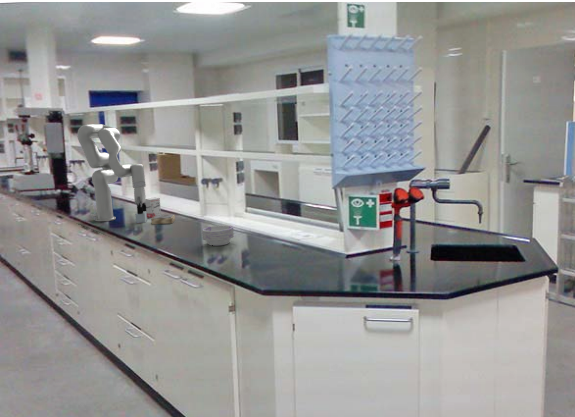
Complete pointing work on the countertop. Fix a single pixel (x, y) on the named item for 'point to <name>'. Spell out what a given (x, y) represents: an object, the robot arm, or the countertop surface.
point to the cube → (141, 217)
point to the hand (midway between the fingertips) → (142, 212)
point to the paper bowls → (218, 235)
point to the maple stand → (163, 219)
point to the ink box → (153, 207)
